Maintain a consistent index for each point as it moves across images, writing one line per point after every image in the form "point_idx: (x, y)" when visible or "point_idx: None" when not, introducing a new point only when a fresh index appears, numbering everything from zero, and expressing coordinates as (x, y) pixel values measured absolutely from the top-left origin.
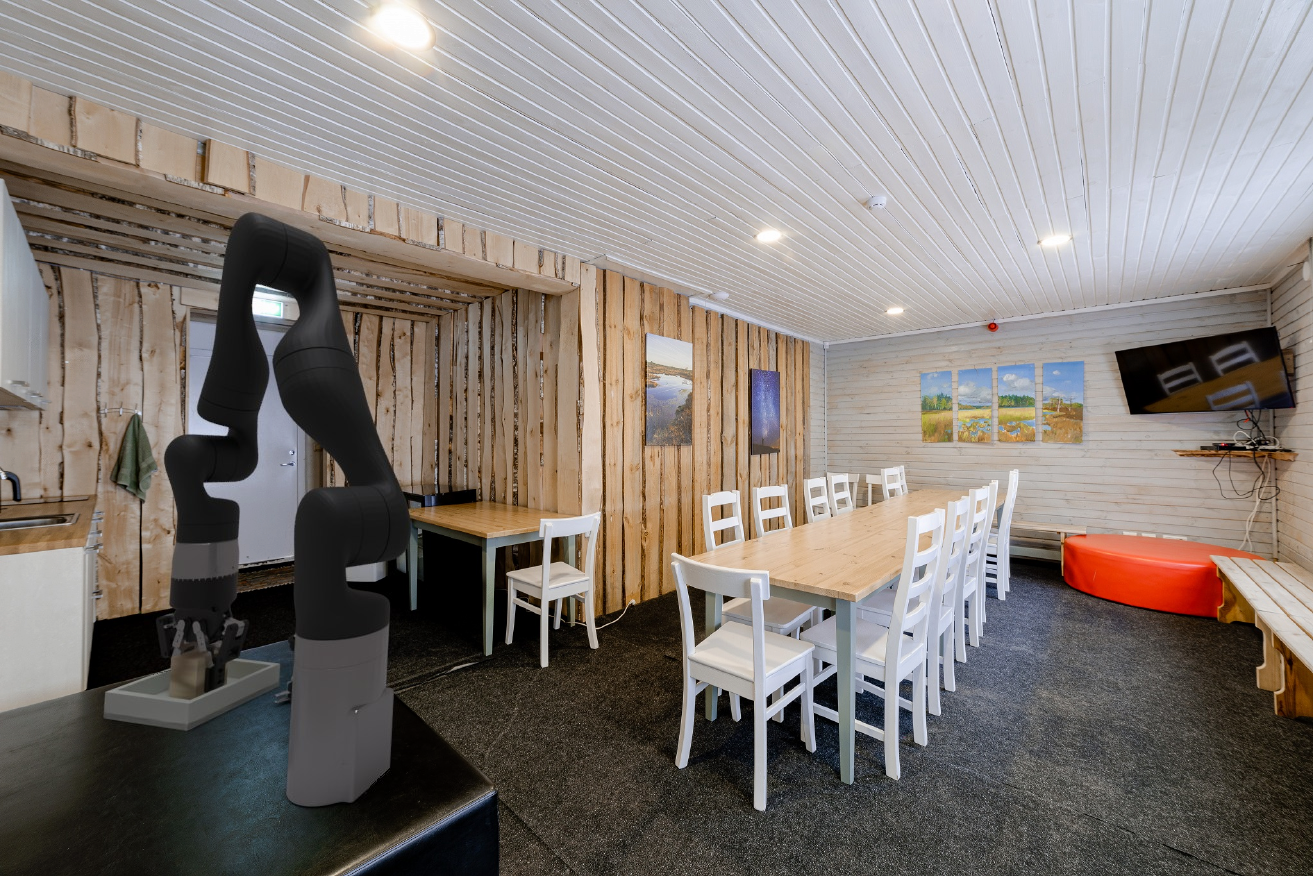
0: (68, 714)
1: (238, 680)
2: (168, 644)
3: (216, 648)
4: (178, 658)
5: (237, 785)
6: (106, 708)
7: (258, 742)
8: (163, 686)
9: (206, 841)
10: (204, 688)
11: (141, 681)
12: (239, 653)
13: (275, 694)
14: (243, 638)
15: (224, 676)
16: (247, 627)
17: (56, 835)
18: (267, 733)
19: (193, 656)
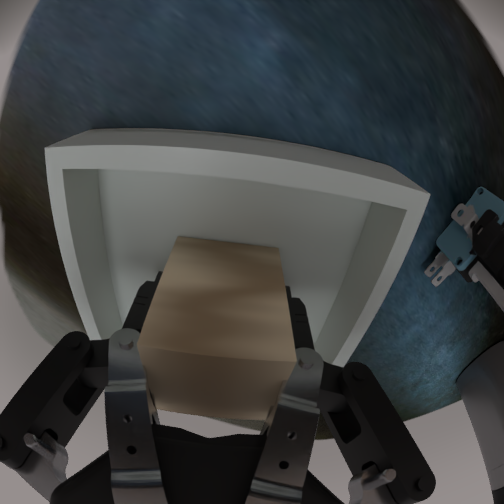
0: (59, 322)
1: (362, 324)
2: (88, 407)
3: (226, 361)
4: (185, 413)
5: (422, 389)
6: None
7: (425, 351)
8: (104, 275)
9: (418, 411)
10: None
11: None
12: (375, 382)
13: (432, 280)
14: (404, 434)
15: (307, 319)
16: (426, 469)
17: (323, 433)
18: (431, 336)
19: (218, 407)
